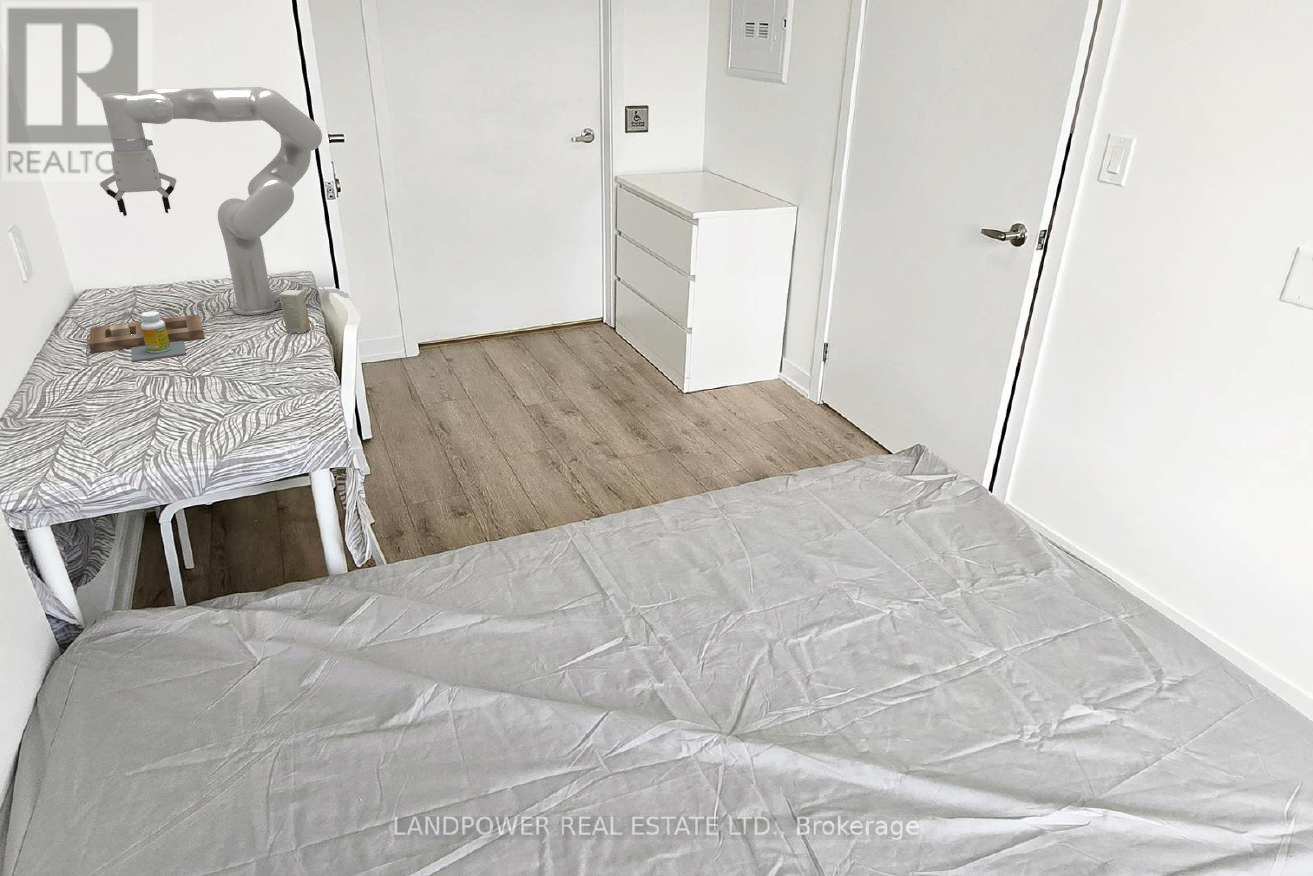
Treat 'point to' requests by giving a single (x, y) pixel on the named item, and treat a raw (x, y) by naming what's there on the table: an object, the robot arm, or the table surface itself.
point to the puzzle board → (175, 327)
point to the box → (294, 311)
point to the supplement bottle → (154, 333)
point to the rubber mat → (143, 354)
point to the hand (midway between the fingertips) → (146, 213)
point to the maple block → (120, 330)
